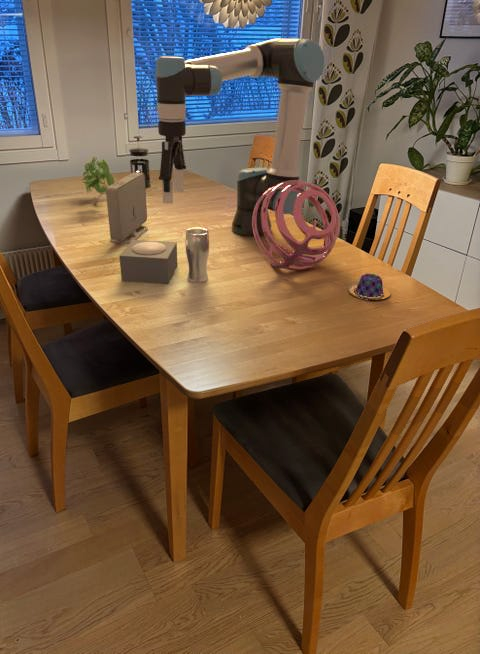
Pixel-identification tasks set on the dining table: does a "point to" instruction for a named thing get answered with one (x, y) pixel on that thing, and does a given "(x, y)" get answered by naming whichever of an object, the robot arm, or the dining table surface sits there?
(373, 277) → the sun hat
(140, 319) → the dining table surface
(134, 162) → the french press
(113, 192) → the network device
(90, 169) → the plant cuttings
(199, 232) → the beer glass
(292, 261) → the spiral basket
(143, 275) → the plate
